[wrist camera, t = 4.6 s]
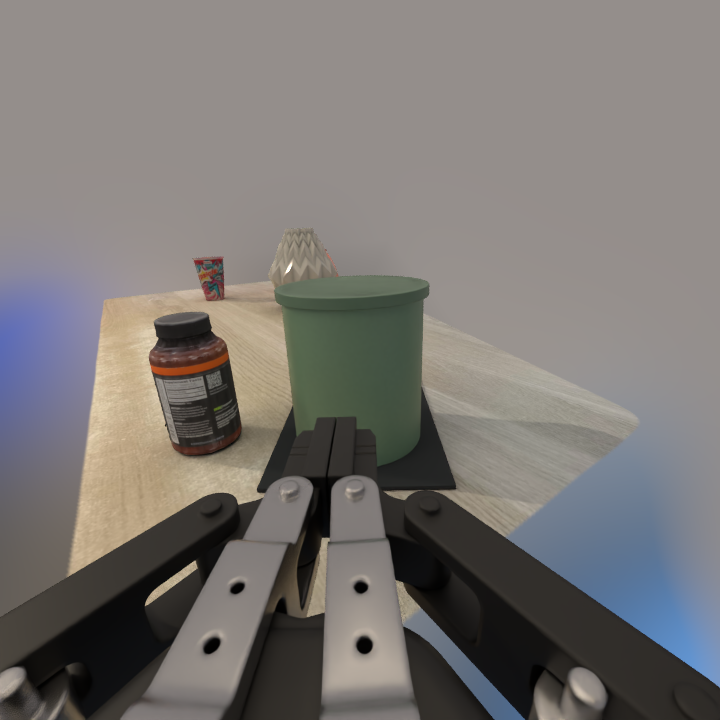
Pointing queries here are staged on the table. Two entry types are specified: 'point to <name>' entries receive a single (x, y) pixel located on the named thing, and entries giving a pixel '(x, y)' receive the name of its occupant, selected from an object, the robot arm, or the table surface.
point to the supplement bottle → (194, 384)
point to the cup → (211, 276)
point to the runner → (406, 473)
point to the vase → (300, 258)
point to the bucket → (357, 355)
